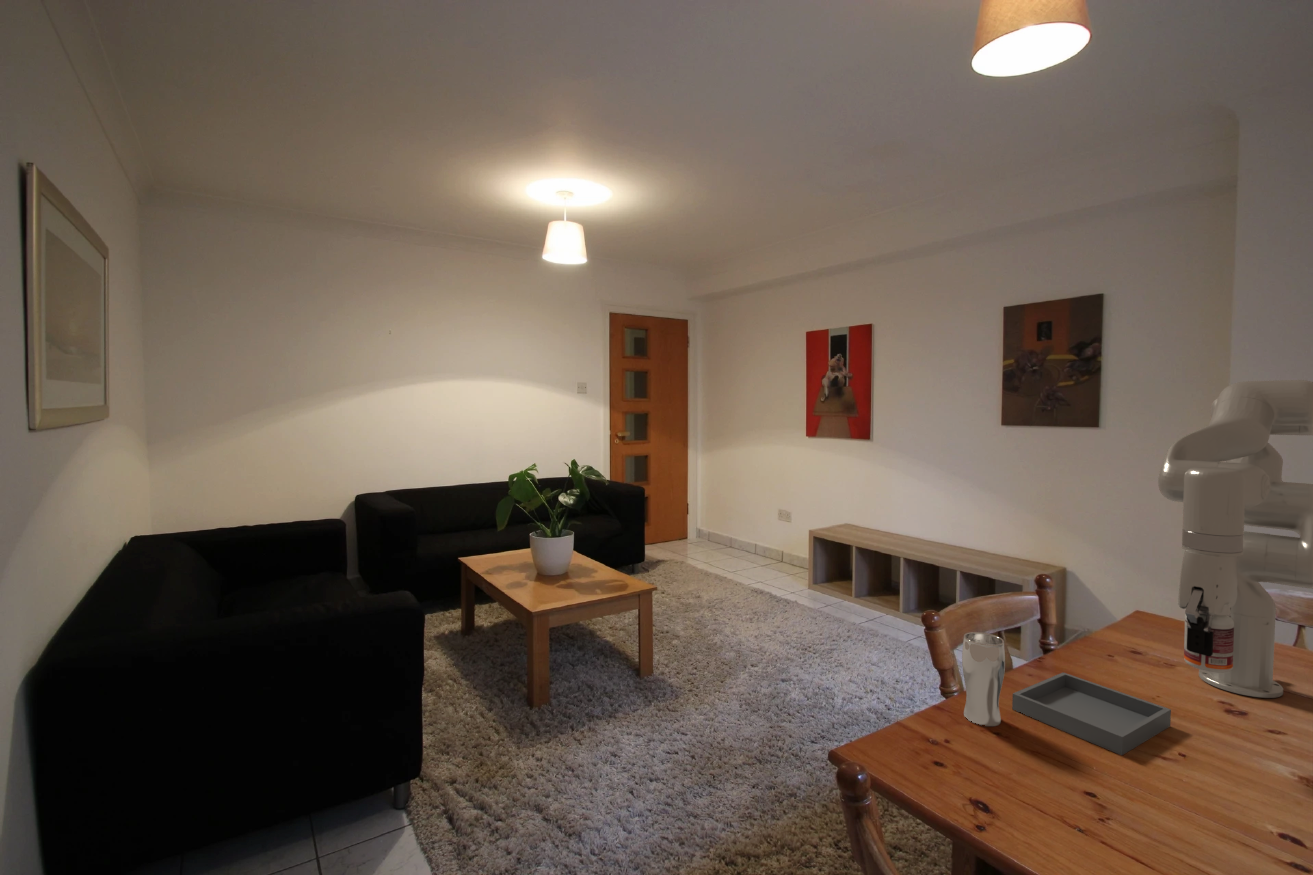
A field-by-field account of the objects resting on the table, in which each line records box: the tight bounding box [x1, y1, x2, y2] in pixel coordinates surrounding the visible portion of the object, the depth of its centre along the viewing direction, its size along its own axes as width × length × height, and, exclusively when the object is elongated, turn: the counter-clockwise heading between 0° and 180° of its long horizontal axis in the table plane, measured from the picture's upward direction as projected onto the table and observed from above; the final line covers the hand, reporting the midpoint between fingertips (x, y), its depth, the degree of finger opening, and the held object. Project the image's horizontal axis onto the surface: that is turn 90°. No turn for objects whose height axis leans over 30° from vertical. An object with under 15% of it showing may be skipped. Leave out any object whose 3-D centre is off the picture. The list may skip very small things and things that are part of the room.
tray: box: [1011, 671, 1172, 756], centre depth 114 cm, size 18×18×3 cm
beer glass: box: [961, 631, 1006, 727], centre depth 114 cm, size 7×7×15 cm
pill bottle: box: [1183, 602, 1234, 673], centre depth 103 cm, size 6×6×11 cm
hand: (1208, 647), depth 103 cm, fingers closed on pill bottle, 6 cm apart
